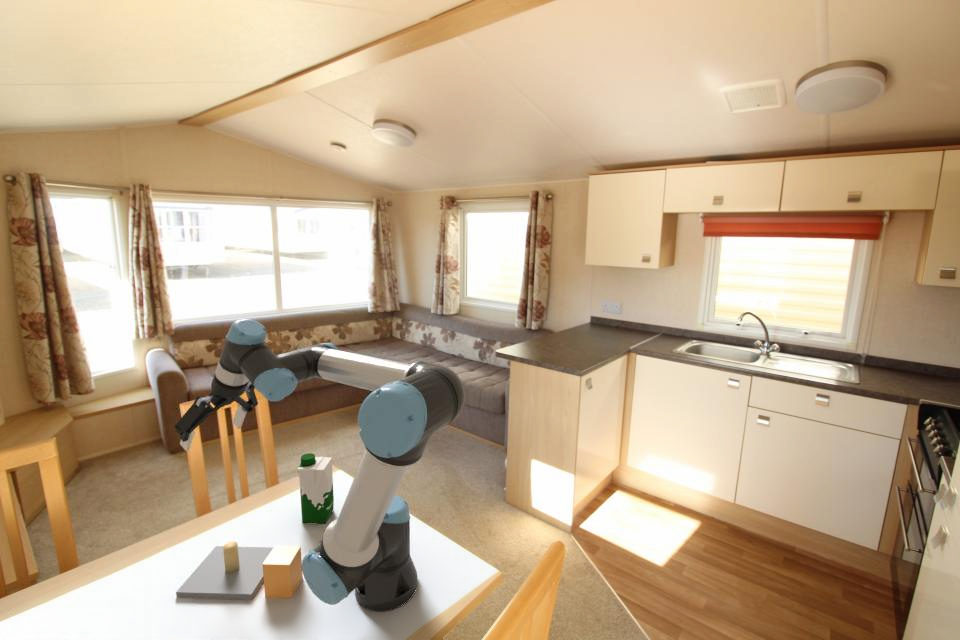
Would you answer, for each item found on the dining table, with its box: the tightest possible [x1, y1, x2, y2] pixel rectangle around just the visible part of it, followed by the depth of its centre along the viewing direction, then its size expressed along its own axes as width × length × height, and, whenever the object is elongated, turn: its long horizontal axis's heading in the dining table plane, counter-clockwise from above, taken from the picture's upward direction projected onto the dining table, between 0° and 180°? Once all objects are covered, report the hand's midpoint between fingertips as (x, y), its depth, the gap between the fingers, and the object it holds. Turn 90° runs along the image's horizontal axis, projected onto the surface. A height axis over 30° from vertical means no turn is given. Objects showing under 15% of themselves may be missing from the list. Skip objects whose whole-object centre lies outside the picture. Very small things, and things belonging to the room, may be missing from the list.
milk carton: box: [297, 452, 335, 525], centre depth 136 cm, size 9×9×20 cm
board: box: [175, 541, 274, 601], centre depth 113 cm, size 18×16×8 cm
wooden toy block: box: [262, 545, 304, 599], centre depth 109 cm, size 6×6×9 cm
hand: (211, 435), depth 115 cm, fingers open, 13 cm apart
